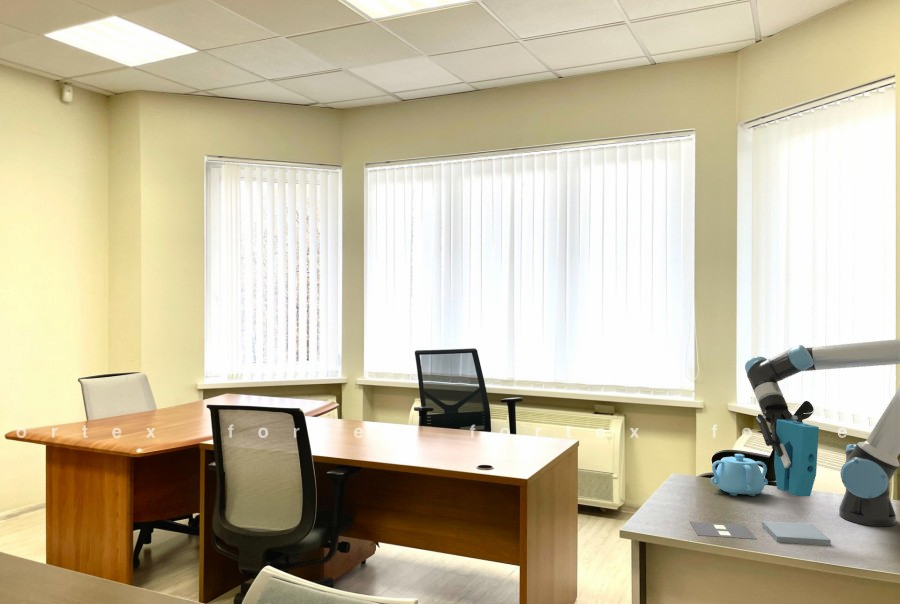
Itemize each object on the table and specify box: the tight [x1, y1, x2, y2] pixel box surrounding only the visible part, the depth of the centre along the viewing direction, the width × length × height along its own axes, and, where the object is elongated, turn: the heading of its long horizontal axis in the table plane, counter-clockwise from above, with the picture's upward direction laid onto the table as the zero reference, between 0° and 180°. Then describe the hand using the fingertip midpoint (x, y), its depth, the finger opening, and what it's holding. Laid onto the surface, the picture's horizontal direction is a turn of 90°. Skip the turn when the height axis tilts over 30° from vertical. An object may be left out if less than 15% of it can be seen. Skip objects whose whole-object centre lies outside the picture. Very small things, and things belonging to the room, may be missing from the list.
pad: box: [761, 520, 832, 546], centre depth 192 cm, size 14×14×2 cm
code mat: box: [689, 521, 757, 540], centre depth 195 cm, size 16×12×1 cm
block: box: [773, 419, 820, 497], centre depth 192 cm, size 12×5×20 cm, turn 13°
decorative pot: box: [710, 453, 769, 497], centre depth 237 cm, size 16×16×14 cm
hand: (798, 465), depth 190 cm, fingers closed on block, 5 cm apart
